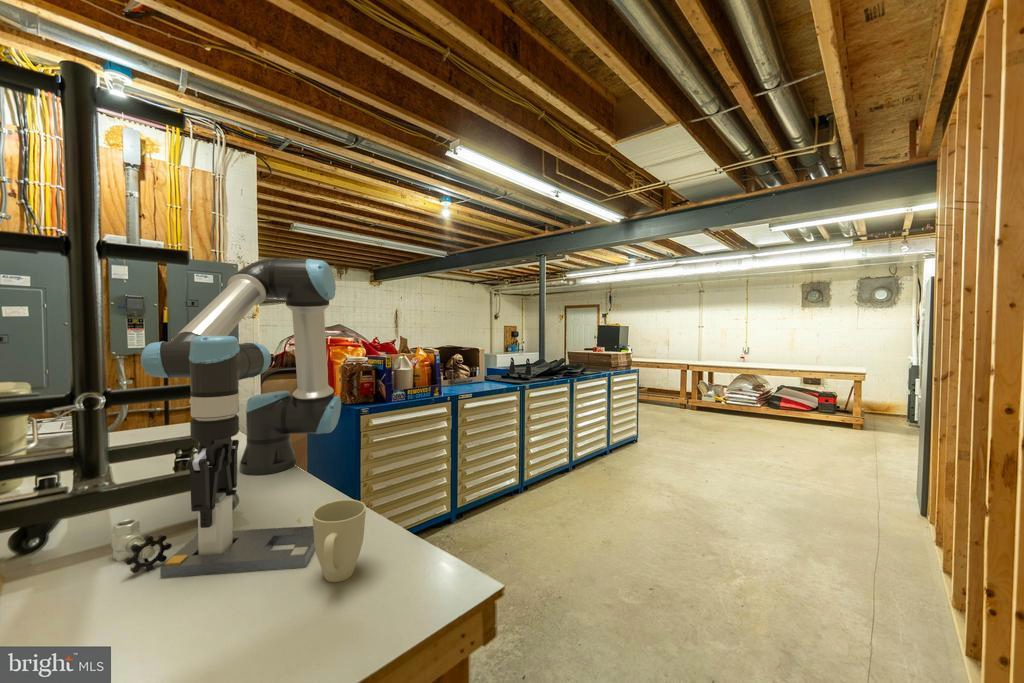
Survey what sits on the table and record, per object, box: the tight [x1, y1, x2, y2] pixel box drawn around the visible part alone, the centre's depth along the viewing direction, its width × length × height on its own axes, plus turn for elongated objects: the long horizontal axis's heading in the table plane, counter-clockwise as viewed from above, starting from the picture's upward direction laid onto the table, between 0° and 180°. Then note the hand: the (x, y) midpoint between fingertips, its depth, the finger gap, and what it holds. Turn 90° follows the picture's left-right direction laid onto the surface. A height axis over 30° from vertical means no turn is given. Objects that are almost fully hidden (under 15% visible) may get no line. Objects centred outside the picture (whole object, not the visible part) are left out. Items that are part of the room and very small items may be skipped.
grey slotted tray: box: [159, 525, 316, 579], centre depth 80 cm, size 12×24×2 cm, turn 100°
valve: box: [110, 517, 173, 574], centre depth 77 cm, size 7×7×12 cm
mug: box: [312, 499, 367, 583], centre depth 73 cm, size 11×10×12 cm
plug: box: [197, 493, 233, 555], centre depth 79 cm, size 4×4×11 cm
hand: (215, 535), depth 79 cm, fingers closed on plug, 4 cm apart
